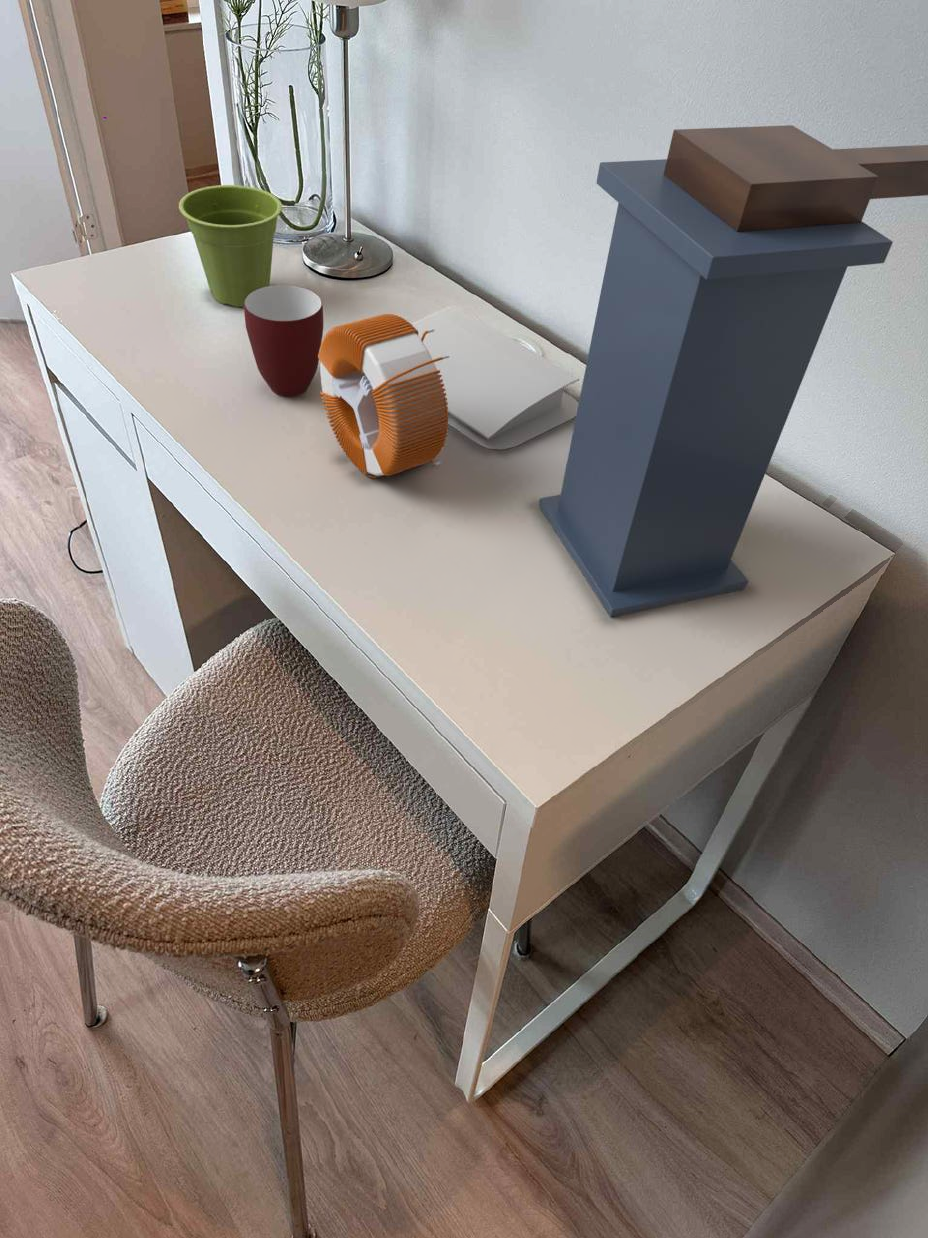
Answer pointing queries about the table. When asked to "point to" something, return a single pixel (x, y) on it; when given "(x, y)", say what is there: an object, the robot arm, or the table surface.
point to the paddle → (789, 176)
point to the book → (494, 381)
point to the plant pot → (233, 237)
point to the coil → (383, 394)
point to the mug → (285, 336)
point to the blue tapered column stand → (688, 386)
